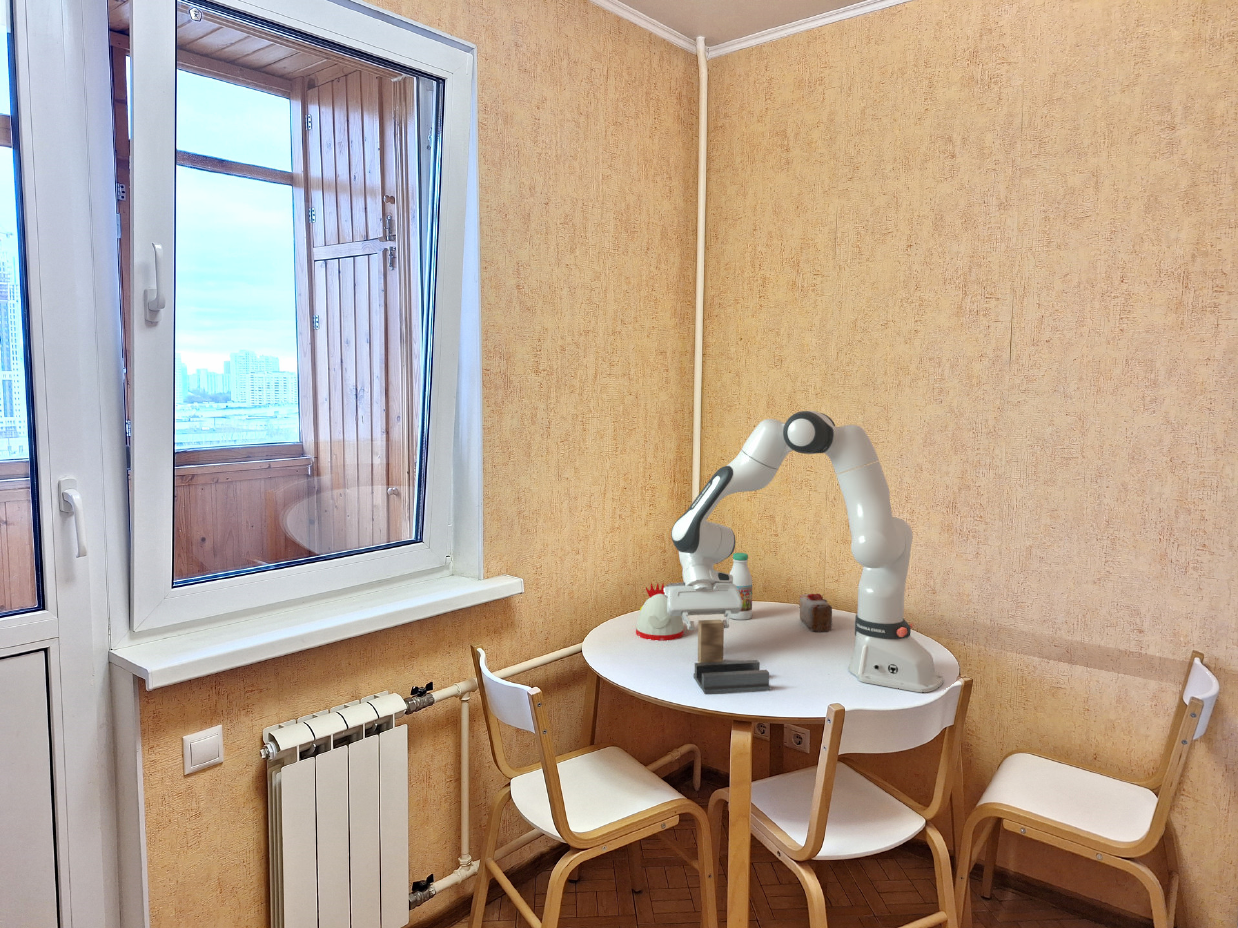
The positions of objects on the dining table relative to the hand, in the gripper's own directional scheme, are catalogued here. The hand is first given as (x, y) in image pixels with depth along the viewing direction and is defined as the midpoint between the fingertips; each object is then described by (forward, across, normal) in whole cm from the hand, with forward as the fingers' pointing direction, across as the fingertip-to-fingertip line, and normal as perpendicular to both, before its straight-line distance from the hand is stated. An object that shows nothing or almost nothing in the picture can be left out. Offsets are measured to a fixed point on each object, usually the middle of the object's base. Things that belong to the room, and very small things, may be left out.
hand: (708, 627), depth 211 cm
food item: (-11, +40, +24) cm, 48 cm away
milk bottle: (-19, +20, +32) cm, 42 cm away
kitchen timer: (-10, -8, +23) cm, 27 cm away
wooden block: (+8, 0, +4) cm, 9 cm away
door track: (+18, +1, -6) cm, 19 cm away
